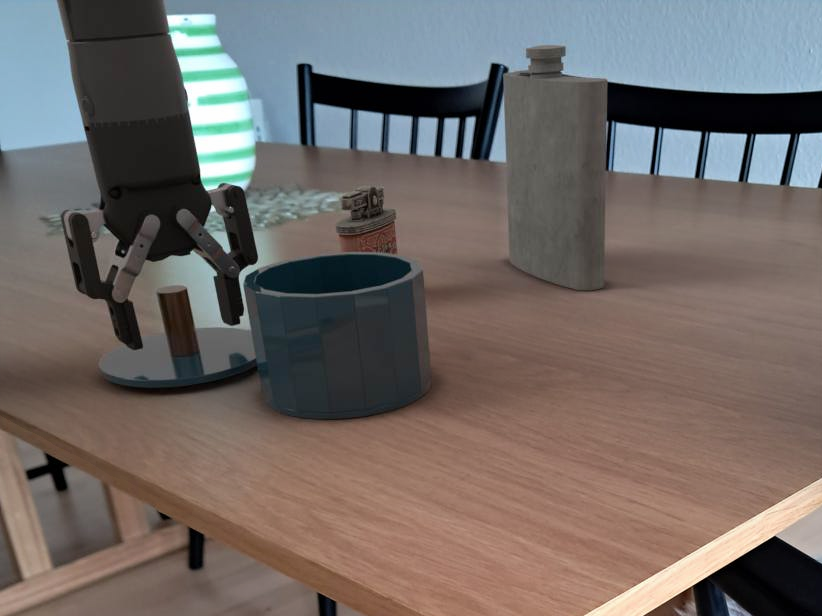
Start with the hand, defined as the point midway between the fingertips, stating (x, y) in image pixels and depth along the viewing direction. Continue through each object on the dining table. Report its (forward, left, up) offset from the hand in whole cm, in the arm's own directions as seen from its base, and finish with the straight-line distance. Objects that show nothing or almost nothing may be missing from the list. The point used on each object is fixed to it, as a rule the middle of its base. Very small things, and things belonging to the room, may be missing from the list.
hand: (184, 335), depth 82 cm
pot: (+13, -9, -2) cm, 16 cm away
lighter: (+16, +16, -3) cm, 23 cm away
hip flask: (+34, +20, -3) cm, 39 cm away
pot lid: (0, 0, -2) cm, 2 cm away
